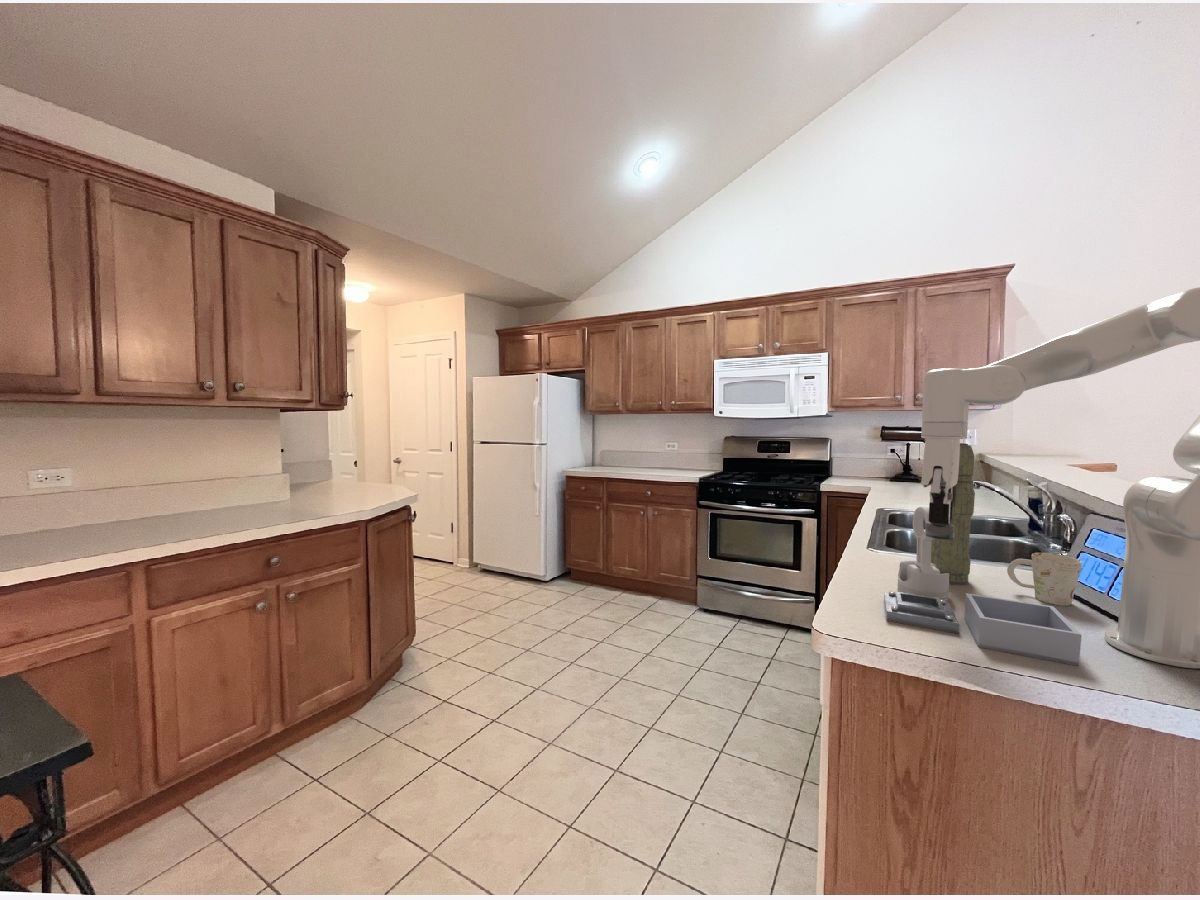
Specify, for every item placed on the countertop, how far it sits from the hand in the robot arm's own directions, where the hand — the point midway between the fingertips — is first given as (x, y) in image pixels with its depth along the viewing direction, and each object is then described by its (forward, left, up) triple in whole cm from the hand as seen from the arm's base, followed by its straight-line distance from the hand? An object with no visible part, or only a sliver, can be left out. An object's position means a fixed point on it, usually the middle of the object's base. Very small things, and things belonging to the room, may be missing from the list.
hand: (940, 520), depth 98 cm
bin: (-12, +3, -21) cm, 24 cm away
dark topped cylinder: (0, 0, -3) cm, 3 cm away
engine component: (+1, -17, -21) cm, 27 cm away
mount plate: (+3, -1, -21) cm, 21 cm away
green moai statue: (-6, -32, -21) cm, 38 cm away
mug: (-23, -27, -21) cm, 41 cm away
